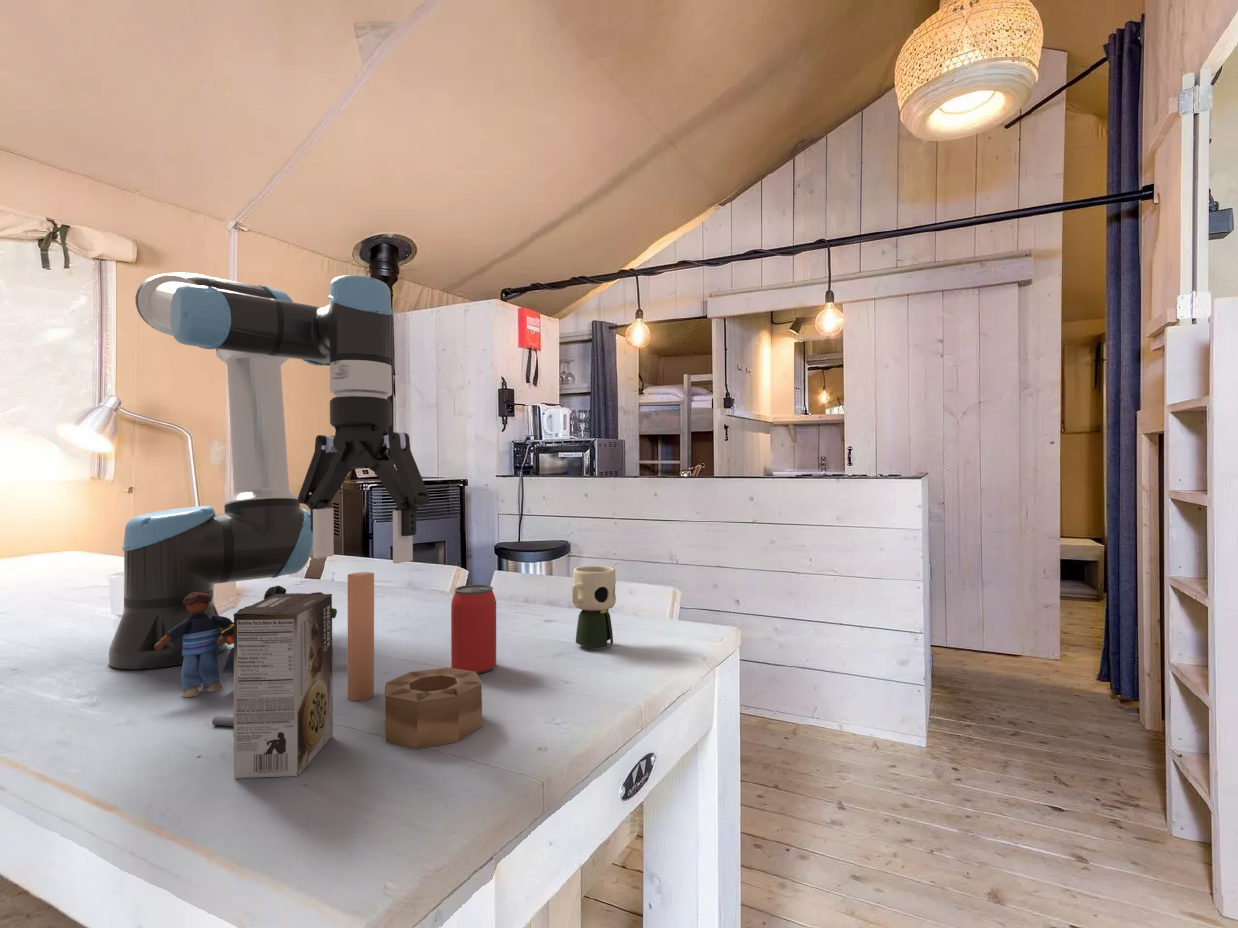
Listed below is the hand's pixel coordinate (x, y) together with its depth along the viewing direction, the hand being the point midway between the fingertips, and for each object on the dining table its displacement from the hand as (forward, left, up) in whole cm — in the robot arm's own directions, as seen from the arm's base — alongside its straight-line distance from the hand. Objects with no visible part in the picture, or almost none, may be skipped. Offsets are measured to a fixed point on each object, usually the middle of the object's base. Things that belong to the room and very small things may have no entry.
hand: (361, 559), depth 81 cm
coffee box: (+5, -16, -18) cm, 25 cm away
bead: (+15, -4, -18) cm, 24 cm away
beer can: (+7, +15, -18) cm, 25 cm away
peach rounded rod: (0, 0, -18) cm, 18 cm away
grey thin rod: (-4, -12, -18) cm, 22 cm away
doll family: (-20, 0, -18) cm, 27 cm away
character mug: (+19, +32, -18) cm, 41 cm away
